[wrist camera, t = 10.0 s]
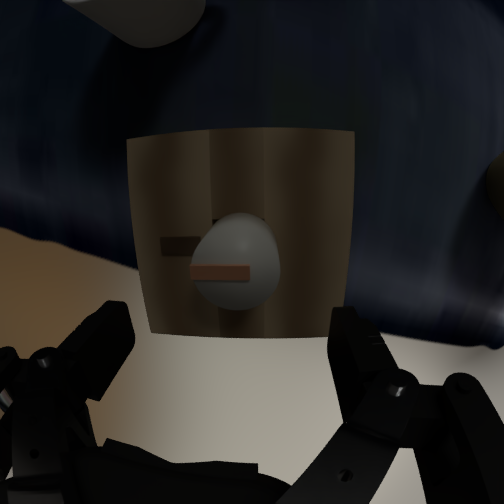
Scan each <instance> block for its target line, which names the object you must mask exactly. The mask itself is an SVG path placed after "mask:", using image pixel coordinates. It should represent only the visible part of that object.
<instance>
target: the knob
mask: <svg viewBox="0 0 504 504" xmlns="http://www.w3.org/2000/svg"><path fill="white" fill-rule="evenodd" d="M189 267H190V276H191V280H193V281H194V283H195V285H196V287H197V289H198V290H199V292H200V293H201V294H202V295H203V296H204V297H205V298H206V299H207V300H208V301H210V302H211V303H213V304H214V305H216V306H219V307H221V308H224V309H229V310H247V309H251V308H254V307H256V306H258V305H260V304H262V303H263V302H265V301H266V300H267V299H268V298H269V297H270V296H271V295H272V294H273V292H274V291H275V289H276V287H277V285H278V282H279V278H280V261H279V255H278V248H277V242H276V238H275V235H274V233H273V231H272V229H271V228H270V227H269V225H268V224H267V223H266V222H264V221H263V220H262V219H260V218H259V217H257V216H255V215H252V214H247V213H233V214H229V215H227V216H224V217H223V218H221V219H219V220H218V221H217V222H216V223H215V224H214V225H213V226H212V227H211V229H210V230H209V231H208V233H207V234H206V235H205V236H204V238H203V239H202V240H201V242H200V243H199V244H198V246H197V248H196V249H195V251H194V254H193V257H192V262H191V264H190V266H189Z"/></svg>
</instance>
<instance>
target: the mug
mask: <svg viewBox="0 0 504 504" xmlns="http://www.w3.org/2000/svg"><path fill="white" fill-rule="evenodd" d="M62 1H63V2H65V3H66V4H68V5H70V6H71V7H73V8H75V9H76V10H78V11H79V12H81V13H83V14H84V15H86V16H87V17H89V18H90V19H92V20H93V21H95V22H96V23H98V24H99V25H101V26H102V27H104V28H105V29H107V30H108V31H110V32H111V33H112V34H114V35H115V36H117V37H118V38H119V39H121V40H122V41H124V42H126V43H127V44H129V45H132V46H135V47H139V48H154V47H159V46H163V45H166V44H169V43H171V42H173V41H175V40H177V39H179V38H181V37H182V36H184V35H185V34H186V33H188V32H189V31H190V30H191V29H192V28H193V27H194V26H195V25H196V24H197V23H198V21H199V20H200V18H201V17H202V14H203V12H204V9H205V0H62Z"/></svg>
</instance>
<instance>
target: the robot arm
mask: <svg viewBox="0 0 504 504" xmlns="http://www.w3.org/2000/svg"><path fill="white" fill-rule="evenodd" d="M134 344H135V333H134V329H133V326H132V322H131V318H130V314H129V310H128V306H127V304H126V303H125V302H122V301H110V300H109V301H106V302H105V303H104V304H103V305H102V306H101V307H100V308H99V309H98V310H97V311H96V312H94V313H93V314H91V315H89V316H87V317H86V318H85V319H84V320H83V322H82V323H81V325H78V327H77V328H76V329H75V331H73V332H72V333H71V334H70V335H69V336H68V337H67V338H66V339H65V340H64V341H63V342H62V343H61V344H60V345H59V346H58V347H57V348H54V347H45V348H42V349H39V350H38V351H36V352H34V353H33V354H32V355H31V357H30V358H29V359H20V358H19V356H18V354H17V352H16V350H15V349H14V348H13V347H9V346H6V347H2V348H0V393H1V392H2V391H3V389H4V388H5V390H6V391H7V393H8V394H9V396H10V397H11V399H12V400H13V402H12V404H11V405H10V407H9V408H8V409H7V411H6V412H5V414H4V415H3V417H2V418H1V419H0V504H369V502H370V501H371V499H372V498H373V496H374V494H375V493H376V491H377V489H378V488H379V486H380V484H381V482H382V481H383V479H384V477H385V475H386V473H387V471H388V470H389V468H390V465H391V464H392V462H393V460H394V458H395V456H396V454H397V451H398V449H399V448H413V450H414V454H415V458H416V461H417V465H418V469H419V473H420V477H421V481H422V485H423V490H424V494H425V498H426V503H427V504H504V424H503V422H502V420H501V418H500V416H499V415H498V413H497V411H496V409H495V407H494V406H493V404H492V402H491V400H490V399H489V397H488V395H487V394H486V392H485V390H484V389H483V387H482V386H481V384H480V382H479V381H478V380H477V379H476V378H475V377H473V376H472V375H469V374H467V373H453V374H452V375H450V376H448V377H447V378H446V380H445V382H444V384H443V386H439V385H423V384H419V382H418V380H417V378H416V377H415V376H414V375H413V374H412V373H410V372H408V371H406V370H403V369H399V368H398V366H397V364H396V362H395V360H394V358H393V356H392V354H391V352H390V351H389V349H388V347H387V345H386V344H385V341H384V340H383V338H382V336H381V334H380V332H379V330H378V329H377V327H376V325H374V324H373V323H372V322H370V321H369V320H368V319H360V318H359V316H358V314H357V312H356V310H355V308H354V307H353V306H344V307H333V309H332V313H331V320H330V328H329V335H328V342H327V353H328V359H329V363H330V367H331V371H332V375H333V379H334V384H335V388H336V392H337V396H338V401H339V405H340V410H341V414H342V419H343V424H342V425H341V426H340V427H339V428H338V430H337V431H336V433H335V434H334V435H333V437H332V438H331V439H330V441H329V442H328V443H327V445H326V446H325V447H324V448H323V450H322V451H321V452H320V453H319V455H318V456H317V457H316V458H315V460H314V461H313V462H312V463H311V464H310V466H309V467H308V468H307V469H306V470H305V471H304V473H303V474H302V475H301V476H300V477H299V478H298V480H297V481H296V482H295V483H294V484H293V485H292V486H291V485H289V484H288V483H286V482H284V481H281V480H279V479H277V478H274V477H271V476H268V475H265V474H261V473H258V463H237V462H224V461H210V462H195V463H171V462H169V461H167V460H164V459H162V458H160V457H158V456H156V455H154V454H152V453H149V452H147V451H145V450H143V449H141V448H140V447H137V446H133V445H129V444H126V443H122V442H119V441H115V440H112V439H109V438H107V439H106V441H105V443H104V445H103V447H101V446H100V447H98V446H97V443H96V440H95V437H94V433H93V428H92V424H91V419H90V415H89V410H88V407H87V405H86V403H85V401H86V400H87V398H89V399H92V400H95V401H100V400H101V398H102V397H103V395H104V393H105V391H106V390H107V388H108V387H109V385H110V384H111V382H112V380H113V379H114V377H115V376H116V374H117V372H118V371H119V369H120V368H121V366H122V365H123V363H124V361H125V360H126V358H127V357H128V355H129V354H130V352H131V351H132V349H133V347H134ZM346 422H347V423H346ZM11 467H13V477H11V478H8V479H6V477H7V475H8V473H9V471H10V469H11ZM5 479H6V480H5Z"/></svg>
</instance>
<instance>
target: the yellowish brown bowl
mask: <svg viewBox="0 0 504 504" xmlns="http://www.w3.org/2000/svg"><path fill="white" fill-rule="evenodd" d="M486 188H487V193H488V196H489V199H490V201H491V203H492V204H493V206H494V208H495V209H496V211H497V212H498V214H499V215H500V217H501V218H502V219H503V221H504V152H502V153H501V154H500V155H499V156H498V157H496V158H495V159H494V161H493V162H492V163H491V164H490V166H489V168H488V171H487V176H486Z"/></svg>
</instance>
